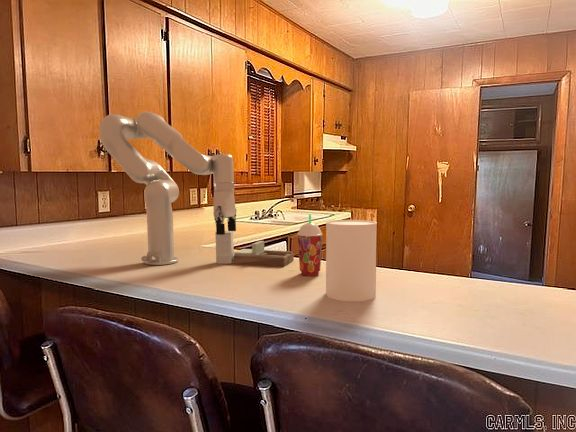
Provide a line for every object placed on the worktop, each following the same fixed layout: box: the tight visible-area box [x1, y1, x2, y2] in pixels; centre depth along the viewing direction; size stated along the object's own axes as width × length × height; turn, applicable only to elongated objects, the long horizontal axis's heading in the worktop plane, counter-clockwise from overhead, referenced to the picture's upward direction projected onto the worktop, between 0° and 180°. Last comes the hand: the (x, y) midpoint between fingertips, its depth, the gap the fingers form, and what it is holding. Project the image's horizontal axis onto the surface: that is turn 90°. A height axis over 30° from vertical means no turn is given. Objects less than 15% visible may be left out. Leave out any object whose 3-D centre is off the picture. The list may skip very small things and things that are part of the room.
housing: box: [233, 249, 295, 268], centre depth 163 cm, size 12×20×4 cm, turn 73°
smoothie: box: [296, 213, 323, 277], centre depth 142 cm, size 8×8×20 cm
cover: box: [234, 240, 265, 255], centre depth 164 cm, size 9×9×4 cm
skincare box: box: [214, 230, 235, 265], centre depth 162 cm, size 6×4×12 cm
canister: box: [325, 219, 378, 303], centre depth 117 cm, size 14×14×20 cm
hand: (226, 232), depth 162 cm, fingers open, 9 cm apart
